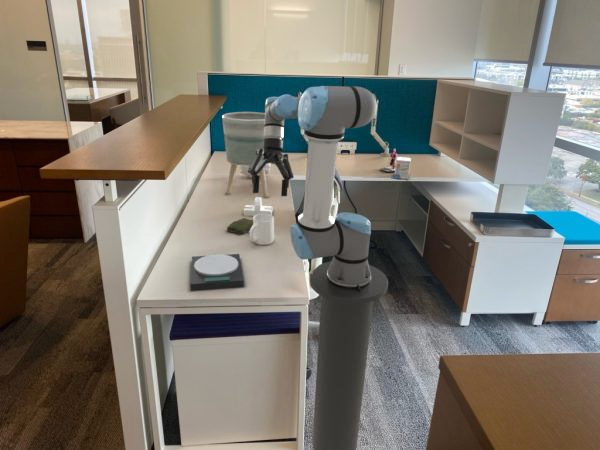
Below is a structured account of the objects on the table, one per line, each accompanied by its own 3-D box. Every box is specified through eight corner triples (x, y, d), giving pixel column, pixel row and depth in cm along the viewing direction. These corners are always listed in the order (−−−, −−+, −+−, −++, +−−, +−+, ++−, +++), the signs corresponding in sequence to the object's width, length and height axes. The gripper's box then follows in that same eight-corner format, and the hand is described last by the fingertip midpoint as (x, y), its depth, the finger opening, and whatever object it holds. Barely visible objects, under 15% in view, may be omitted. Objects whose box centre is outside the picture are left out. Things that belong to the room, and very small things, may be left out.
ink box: (394, 178, 273) (396, 159, 269) (394, 174, 281) (396, 156, 277) (408, 179, 272) (410, 160, 267) (408, 175, 279) (410, 157, 275)
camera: (240, 175, 268) (239, 149, 262) (269, 175, 270) (270, 149, 264) (240, 180, 258) (239, 153, 252) (271, 180, 260) (271, 153, 254)
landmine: (241, 215, 199) (270, 222, 193) (241, 221, 200) (270, 227, 194) (222, 225, 187) (253, 233, 181) (223, 231, 188) (253, 239, 182)
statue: (391, 170, 295) (395, 147, 291) (400, 173, 287) (405, 150, 283) (378, 169, 290) (382, 146, 285) (386, 173, 282) (391, 149, 278)
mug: (257, 250, 173) (257, 225, 169) (242, 244, 177) (241, 220, 173) (277, 240, 181) (278, 217, 177) (263, 235, 186) (263, 212, 182)
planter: (276, 199, 228) (278, 120, 213) (224, 200, 224) (222, 119, 209) (271, 184, 253) (272, 112, 237) (224, 185, 249) (222, 111, 233)
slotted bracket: (243, 215, 207) (243, 199, 204) (245, 210, 213) (245, 194, 210) (271, 216, 206) (271, 200, 204) (272, 211, 213) (272, 195, 210)
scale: (243, 286, 147) (243, 278, 146) (190, 290, 143) (190, 281, 142) (239, 259, 165) (239, 251, 164) (192, 262, 161) (191, 254, 160)
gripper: (291, 145, 181) (289, 197, 181) (240, 134, 164) (237, 191, 164) (304, 143, 175) (301, 197, 175) (252, 132, 159) (248, 191, 159)
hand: (270, 194), depth 170 cm, fingers open, 13 cm apart
